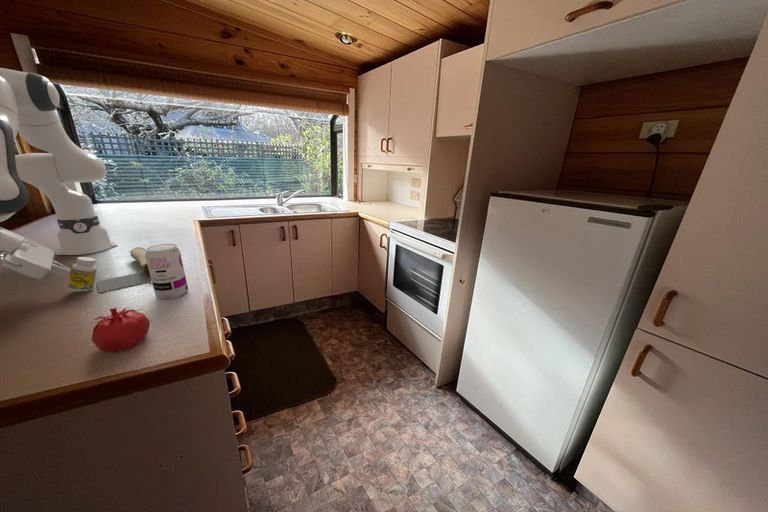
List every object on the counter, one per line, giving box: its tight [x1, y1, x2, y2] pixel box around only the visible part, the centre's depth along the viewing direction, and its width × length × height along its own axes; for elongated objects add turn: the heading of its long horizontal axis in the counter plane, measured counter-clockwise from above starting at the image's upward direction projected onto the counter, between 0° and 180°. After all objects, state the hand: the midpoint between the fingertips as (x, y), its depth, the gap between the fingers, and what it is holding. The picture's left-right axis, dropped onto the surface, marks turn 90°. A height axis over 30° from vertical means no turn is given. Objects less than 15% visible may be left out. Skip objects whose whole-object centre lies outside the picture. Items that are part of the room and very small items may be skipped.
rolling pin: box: [128, 247, 150, 276], centre depth 107 cm, size 32×6×5 cm, turn 47°
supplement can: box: [145, 243, 189, 300], centre depth 87 cm, size 8×8×15 cm
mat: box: [96, 271, 152, 294], centre depth 98 cm, size 11×18×1 cm, turn 135°
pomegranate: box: [91, 307, 151, 353], centre depth 66 cm, size 10×10×9 cm
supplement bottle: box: [67, 256, 98, 292], centre depth 89 cm, size 5×5×10 cm
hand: (69, 272), depth 87 cm, fingers closed, pressing on supplement bottle
